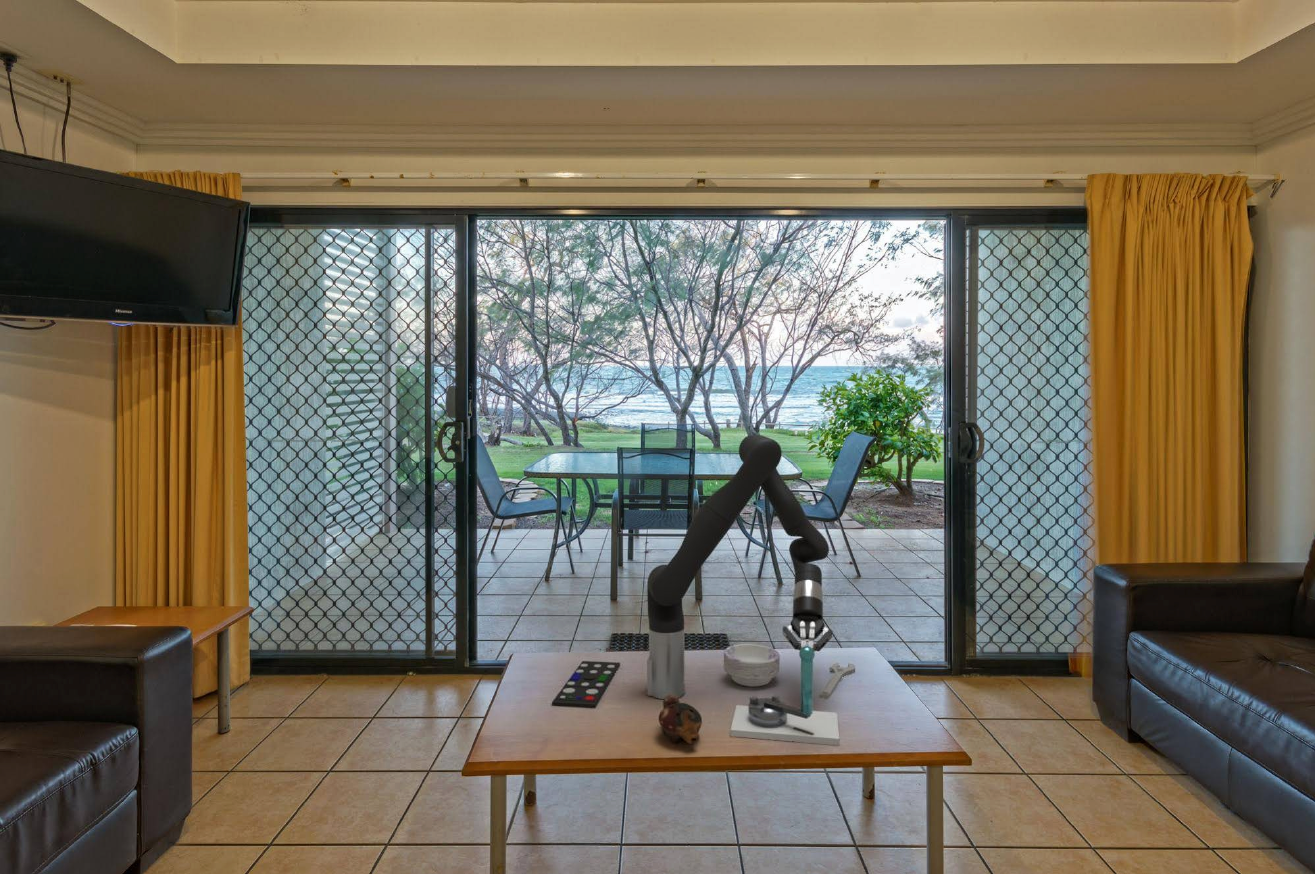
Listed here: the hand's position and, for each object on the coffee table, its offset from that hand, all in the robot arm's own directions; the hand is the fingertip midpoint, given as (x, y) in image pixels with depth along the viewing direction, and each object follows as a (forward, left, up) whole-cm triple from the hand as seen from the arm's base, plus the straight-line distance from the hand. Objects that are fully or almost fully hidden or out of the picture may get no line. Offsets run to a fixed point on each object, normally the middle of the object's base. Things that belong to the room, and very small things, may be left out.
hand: (806, 664), depth 180 cm
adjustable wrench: (+7, +22, -12) cm, 26 cm away
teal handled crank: (-6, -11, -10) cm, 16 cm away
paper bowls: (-15, +19, -12) cm, 27 cm away
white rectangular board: (-5, -9, -12) cm, 16 cm away
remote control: (-58, +8, -13) cm, 60 cm away
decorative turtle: (-28, -19, -12) cm, 36 cm away
